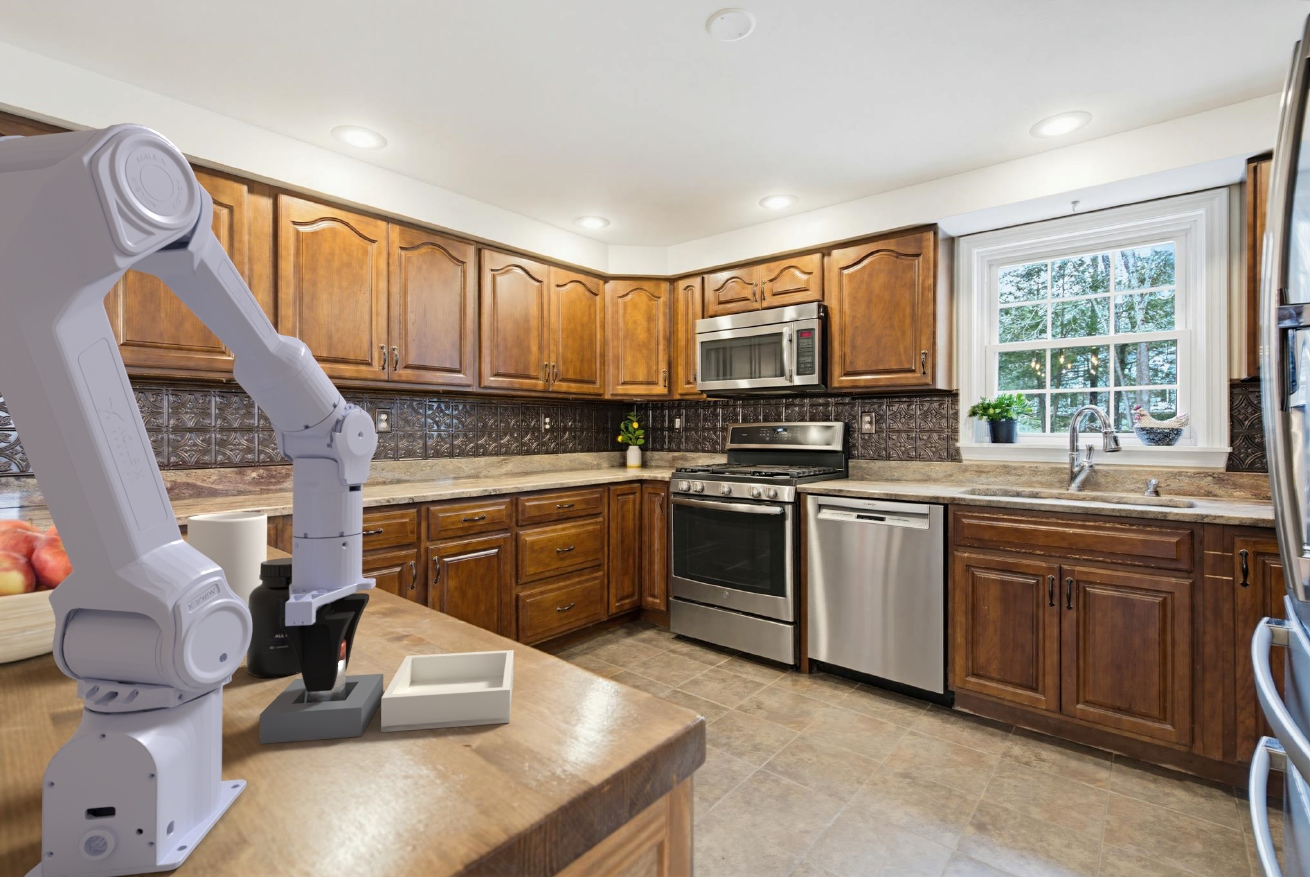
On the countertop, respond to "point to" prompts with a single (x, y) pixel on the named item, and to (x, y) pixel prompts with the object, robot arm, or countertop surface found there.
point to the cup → (232, 546)
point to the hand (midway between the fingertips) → (326, 682)
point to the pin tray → (449, 691)
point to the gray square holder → (321, 712)
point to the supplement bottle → (271, 622)
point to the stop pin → (339, 686)
